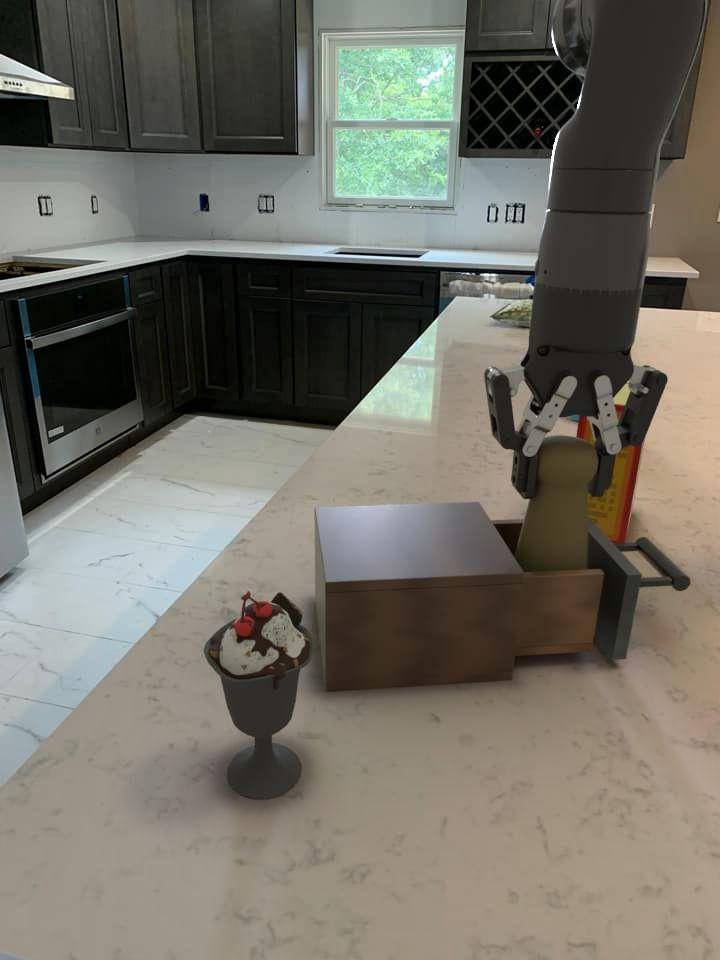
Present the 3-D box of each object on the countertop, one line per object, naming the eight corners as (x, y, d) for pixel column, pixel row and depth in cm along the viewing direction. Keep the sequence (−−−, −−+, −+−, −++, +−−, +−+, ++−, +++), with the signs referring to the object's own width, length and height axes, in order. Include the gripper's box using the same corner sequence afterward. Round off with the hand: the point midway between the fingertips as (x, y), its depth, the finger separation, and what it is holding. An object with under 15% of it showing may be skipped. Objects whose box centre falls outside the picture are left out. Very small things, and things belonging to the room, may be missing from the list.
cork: (508, 573, 60) (521, 447, 56) (519, 541, 65) (532, 424, 61) (584, 587, 58) (604, 458, 54) (590, 553, 63) (608, 433, 59)
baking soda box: (575, 503, 89) (593, 376, 83) (631, 513, 87) (654, 383, 81) (562, 536, 81) (581, 397, 75) (623, 548, 79) (649, 405, 73)
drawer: (628, 582, 70) (642, 507, 67) (693, 655, 60) (712, 571, 57) (431, 591, 68) (436, 515, 65) (461, 669, 57) (469, 582, 54)
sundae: (228, 826, 45) (213, 617, 39) (204, 751, 50) (188, 559, 44) (329, 793, 47) (329, 592, 41) (295, 726, 53) (291, 541, 47)
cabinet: (470, 595, 69) (478, 501, 66) (512, 681, 58) (525, 573, 54) (315, 602, 68) (314, 507, 64) (325, 693, 56) (325, 582, 52)
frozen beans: (510, 292, 207) (601, 300, 197) (508, 313, 210) (598, 321, 200) (489, 305, 190) (587, 314, 180) (487, 328, 192) (584, 337, 183)
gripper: (507, 285, 48) (486, 517, 55) (711, 286, 50) (666, 511, 56) (477, 271, 55) (461, 479, 62) (657, 272, 57) (623, 474, 63)
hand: (559, 493), depth 59 cm, fingers closed on cork, 5 cm apart
